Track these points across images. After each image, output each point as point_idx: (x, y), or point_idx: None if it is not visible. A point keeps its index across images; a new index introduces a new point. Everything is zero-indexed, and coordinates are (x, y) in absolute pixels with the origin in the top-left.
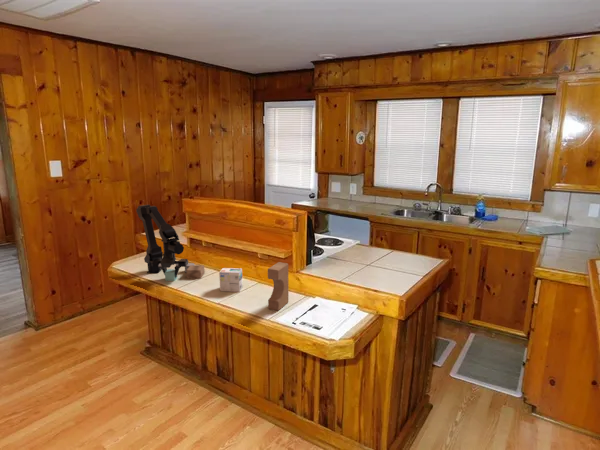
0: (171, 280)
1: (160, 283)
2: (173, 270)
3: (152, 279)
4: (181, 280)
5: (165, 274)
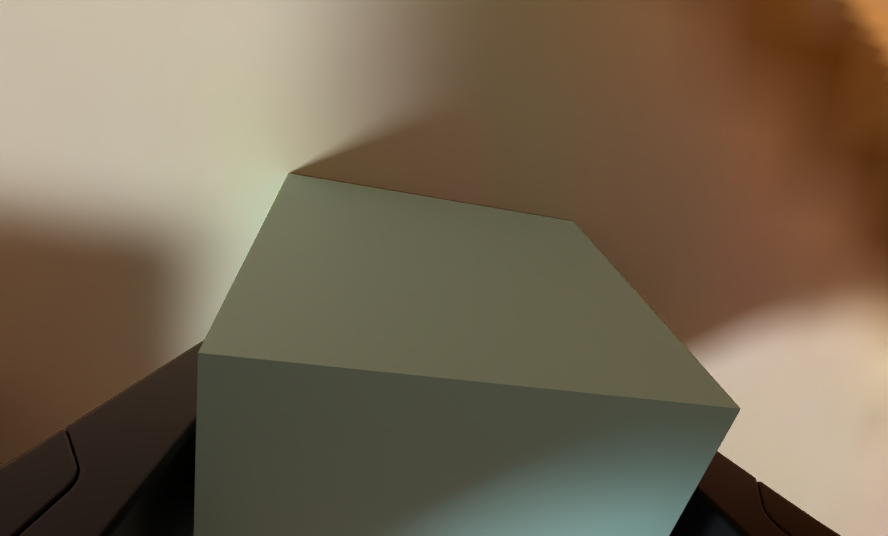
0: (389, 195)
1: (730, 21)
2: None
3: (874, 358)
4: (48, 190)
5: (655, 335)
